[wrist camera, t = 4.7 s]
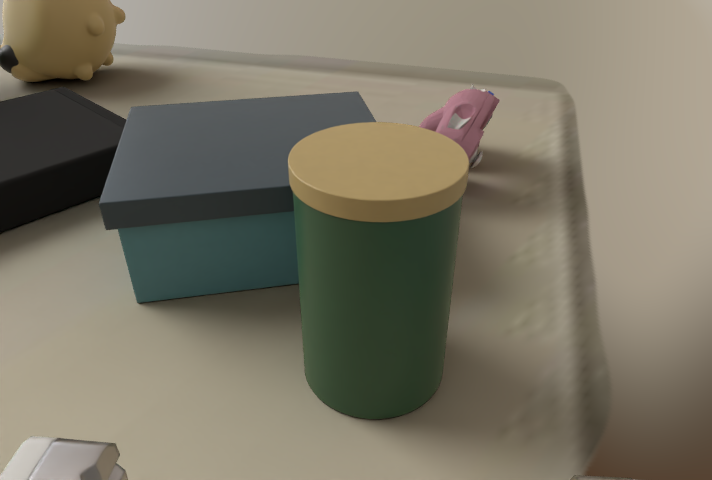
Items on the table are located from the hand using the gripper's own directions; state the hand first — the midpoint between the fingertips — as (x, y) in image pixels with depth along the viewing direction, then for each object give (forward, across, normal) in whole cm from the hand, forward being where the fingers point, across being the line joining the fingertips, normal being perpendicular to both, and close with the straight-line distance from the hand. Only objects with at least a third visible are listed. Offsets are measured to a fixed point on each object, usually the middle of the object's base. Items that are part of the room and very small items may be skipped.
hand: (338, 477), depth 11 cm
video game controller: (+31, -4, +9) cm, 33 cm away
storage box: (+22, +7, +9) cm, 25 cm away
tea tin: (+12, 0, +9) cm, 15 cm away
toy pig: (+50, +32, +10) cm, 60 cm away
